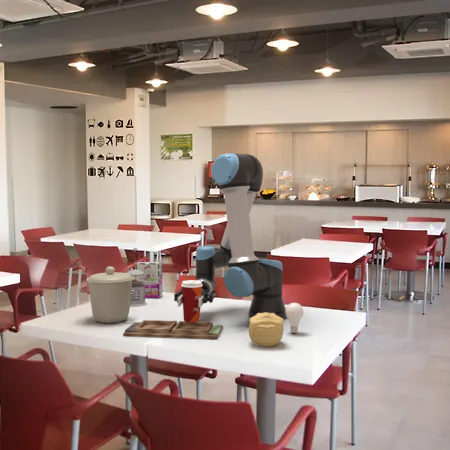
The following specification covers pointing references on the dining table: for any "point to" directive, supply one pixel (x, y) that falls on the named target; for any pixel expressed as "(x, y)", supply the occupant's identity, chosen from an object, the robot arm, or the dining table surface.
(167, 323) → the wooden compartment tray
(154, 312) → the dining table surface
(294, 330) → the lightbulb
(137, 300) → the french press
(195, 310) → the paper cup
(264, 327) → the sculpture
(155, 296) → the candy bar box
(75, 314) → the dining table surface
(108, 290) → the canister
